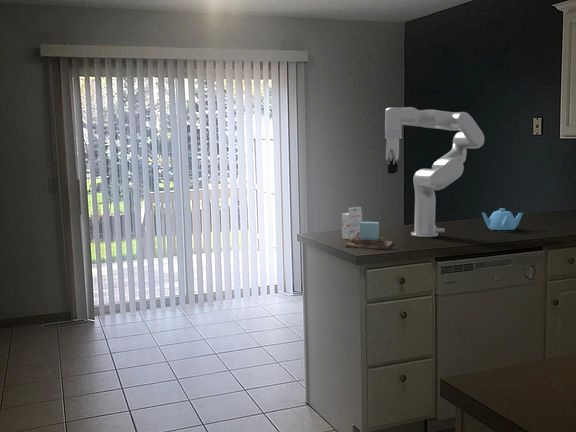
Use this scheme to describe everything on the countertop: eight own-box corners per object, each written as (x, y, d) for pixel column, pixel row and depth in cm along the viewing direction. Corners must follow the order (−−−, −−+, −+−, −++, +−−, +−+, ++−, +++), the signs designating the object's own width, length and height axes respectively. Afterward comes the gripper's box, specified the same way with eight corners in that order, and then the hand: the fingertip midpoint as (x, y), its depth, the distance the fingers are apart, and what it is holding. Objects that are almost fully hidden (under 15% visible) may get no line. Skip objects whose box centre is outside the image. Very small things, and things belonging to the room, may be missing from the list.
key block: (361, 241, 279) (361, 221, 278) (378, 242, 277) (379, 222, 276) (359, 243, 275) (360, 222, 274) (377, 244, 273) (377, 223, 272)
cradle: (392, 243, 281) (392, 234, 280) (388, 248, 267) (388, 239, 267) (351, 241, 286) (351, 233, 285) (345, 247, 272) (345, 237, 272)
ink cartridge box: (355, 236, 301) (355, 205, 299) (362, 237, 297) (362, 206, 295) (341, 238, 296) (341, 206, 294) (348, 239, 292) (348, 207, 290)
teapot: (524, 229, 319) (525, 208, 317) (507, 232, 309) (508, 210, 308) (496, 226, 330) (497, 206, 329) (480, 229, 321) (480, 208, 320)
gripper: (387, 135, 299) (386, 171, 301) (382, 135, 282) (381, 173, 284) (403, 135, 297) (403, 171, 299) (399, 135, 280) (398, 174, 282)
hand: (392, 172), depth 292 cm, fingers open, 9 cm apart
